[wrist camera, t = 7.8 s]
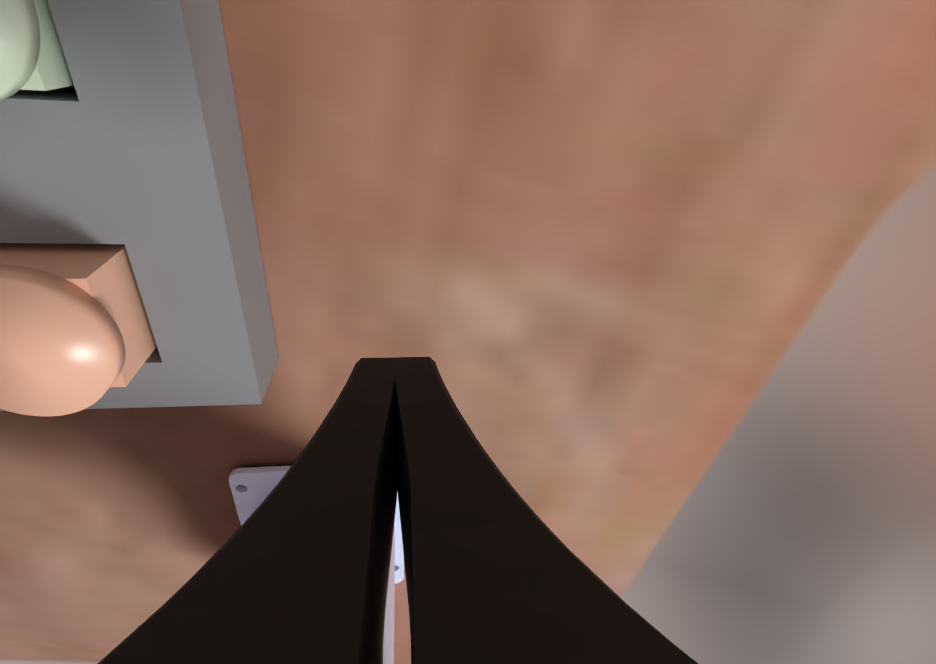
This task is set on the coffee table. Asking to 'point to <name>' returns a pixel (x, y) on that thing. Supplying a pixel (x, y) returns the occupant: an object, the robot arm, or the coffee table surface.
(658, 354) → the coffee table surface
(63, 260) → the terracotta button
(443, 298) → the coffee table surface
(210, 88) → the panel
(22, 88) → the sage button
